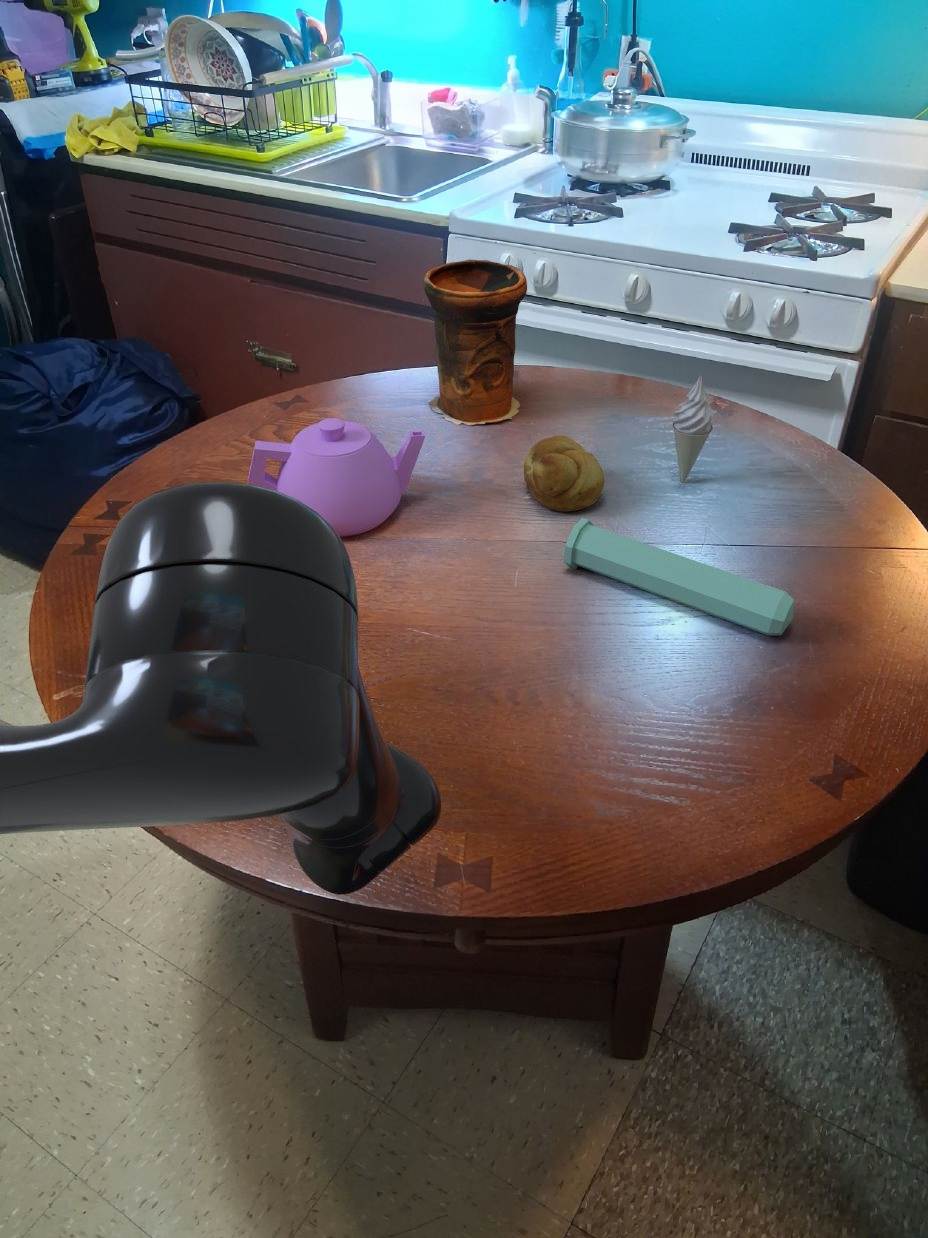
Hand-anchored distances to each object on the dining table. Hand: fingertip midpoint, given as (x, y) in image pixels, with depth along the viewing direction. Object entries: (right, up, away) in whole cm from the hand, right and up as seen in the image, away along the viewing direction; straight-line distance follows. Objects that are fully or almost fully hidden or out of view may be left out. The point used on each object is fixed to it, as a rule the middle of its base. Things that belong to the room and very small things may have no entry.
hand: (183, 587), depth 81 cm
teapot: (+10, +11, +31) cm, 34 cm away
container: (+49, -1, +16) cm, 52 cm away
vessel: (+28, +29, +53) cm, 66 cm away
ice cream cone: (+55, +15, +35) cm, 67 cm away
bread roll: (+38, +13, +33) cm, 53 cm away
